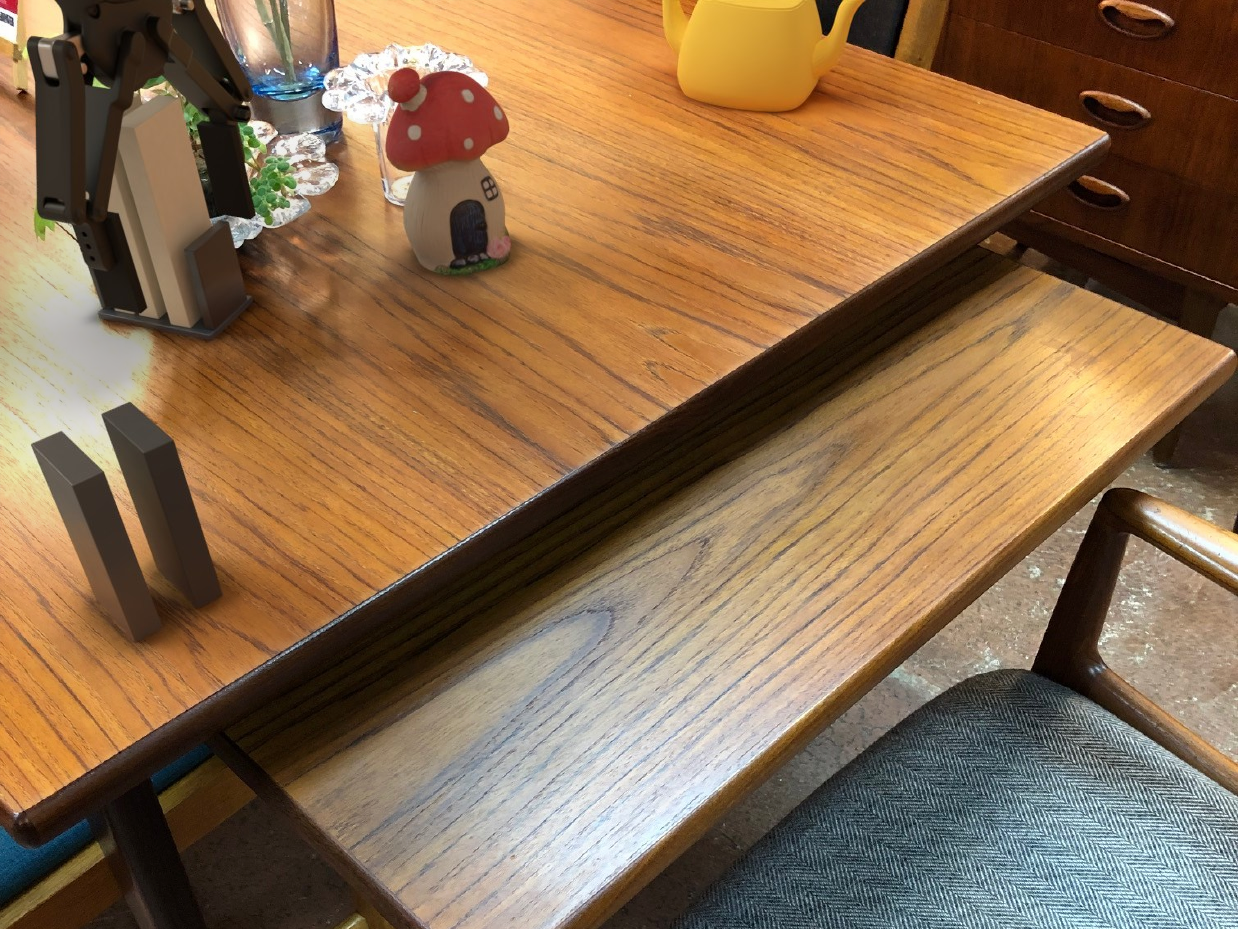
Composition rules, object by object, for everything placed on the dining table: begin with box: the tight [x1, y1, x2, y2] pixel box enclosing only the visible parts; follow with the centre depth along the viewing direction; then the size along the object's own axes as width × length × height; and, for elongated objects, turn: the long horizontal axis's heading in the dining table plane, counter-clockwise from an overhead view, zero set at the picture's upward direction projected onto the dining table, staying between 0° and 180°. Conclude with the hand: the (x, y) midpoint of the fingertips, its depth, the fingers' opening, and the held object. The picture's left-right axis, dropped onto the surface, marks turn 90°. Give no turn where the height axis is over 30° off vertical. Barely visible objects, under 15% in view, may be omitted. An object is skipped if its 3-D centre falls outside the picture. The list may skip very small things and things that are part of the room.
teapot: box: [661, 0, 866, 113], centre depth 113 cm, size 22×16×11 cm
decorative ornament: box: [384, 67, 512, 276], centre depth 87 cm, size 9×7×15 cm
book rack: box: [87, 219, 254, 342], centre depth 83 cm, size 9×6×7 cm, turn 72°
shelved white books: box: [86, 92, 167, 319], centre depth 81 cm, size 4×4×14 cm
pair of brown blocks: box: [30, 401, 224, 643], centre depth 61 cm, size 5×4×11 cm
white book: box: [118, 94, 212, 328], centre depth 80 cm, size 2×5×14 cm, turn 162°
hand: (184, 258), depth 82 cm, fingers open, 13 cm apart
